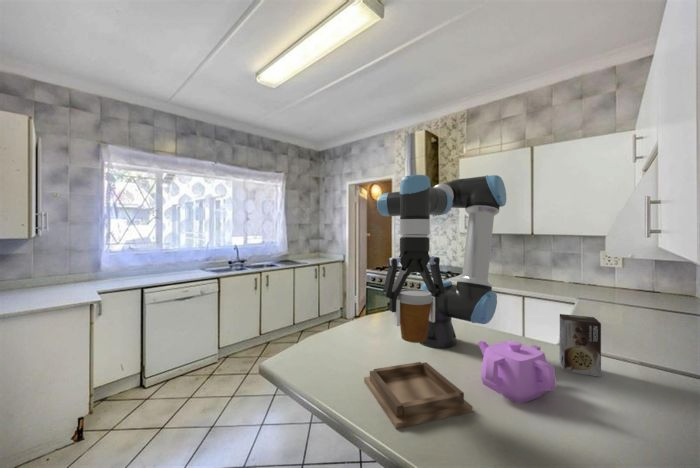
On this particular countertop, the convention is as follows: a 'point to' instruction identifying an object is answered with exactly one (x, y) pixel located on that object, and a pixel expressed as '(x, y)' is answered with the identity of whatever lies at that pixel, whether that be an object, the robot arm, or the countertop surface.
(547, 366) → the teakettle
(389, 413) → the cup caddy
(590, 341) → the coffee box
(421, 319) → the disposable coffee cup
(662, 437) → the countertop surface
